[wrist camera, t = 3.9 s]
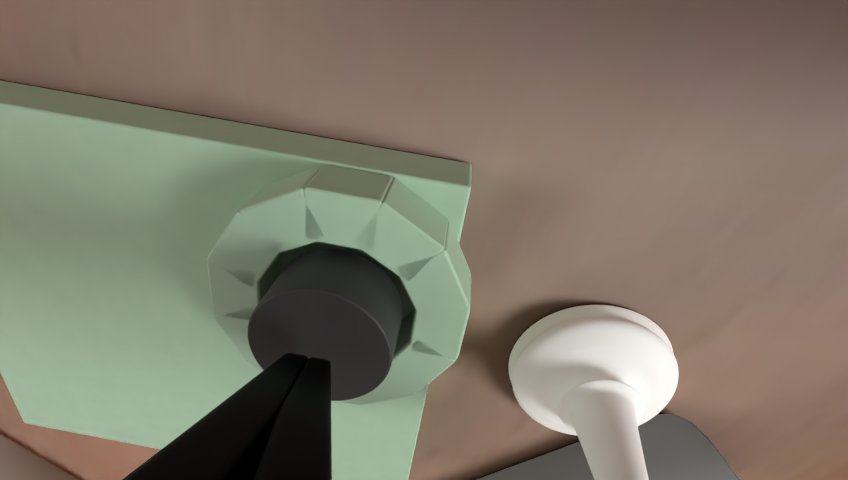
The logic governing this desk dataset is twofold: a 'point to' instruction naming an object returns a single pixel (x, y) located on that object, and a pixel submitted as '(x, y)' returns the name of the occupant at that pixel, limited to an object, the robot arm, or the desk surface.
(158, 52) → the desk surface
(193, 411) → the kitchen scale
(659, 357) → the chess piece
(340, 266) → the button
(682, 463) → the gray half cylinder
